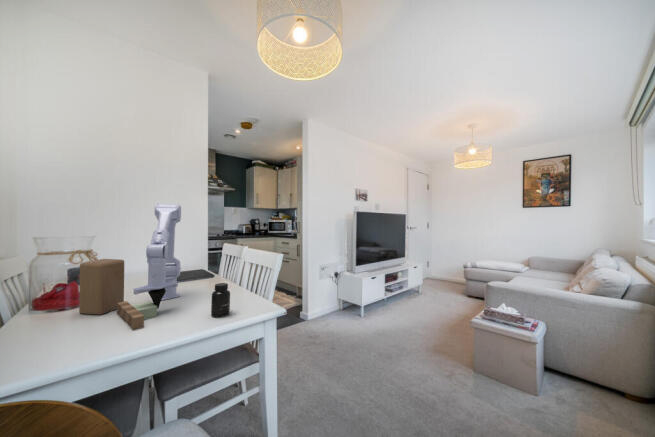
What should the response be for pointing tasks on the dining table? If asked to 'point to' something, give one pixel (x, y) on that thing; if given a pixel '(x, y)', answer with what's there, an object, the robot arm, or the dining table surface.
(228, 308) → the supplement bottle
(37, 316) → the dining table surface
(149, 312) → the sage block
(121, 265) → the block
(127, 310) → the notched wooden bar
